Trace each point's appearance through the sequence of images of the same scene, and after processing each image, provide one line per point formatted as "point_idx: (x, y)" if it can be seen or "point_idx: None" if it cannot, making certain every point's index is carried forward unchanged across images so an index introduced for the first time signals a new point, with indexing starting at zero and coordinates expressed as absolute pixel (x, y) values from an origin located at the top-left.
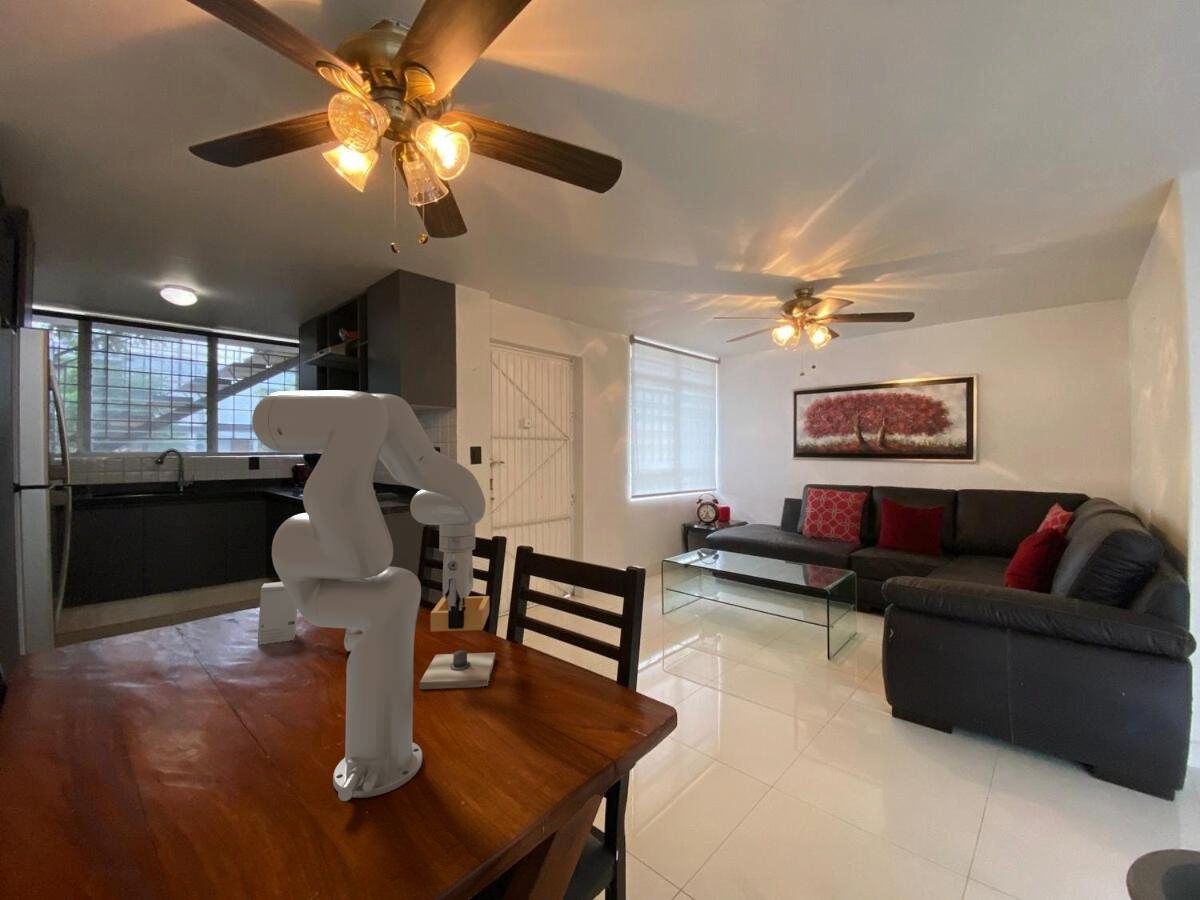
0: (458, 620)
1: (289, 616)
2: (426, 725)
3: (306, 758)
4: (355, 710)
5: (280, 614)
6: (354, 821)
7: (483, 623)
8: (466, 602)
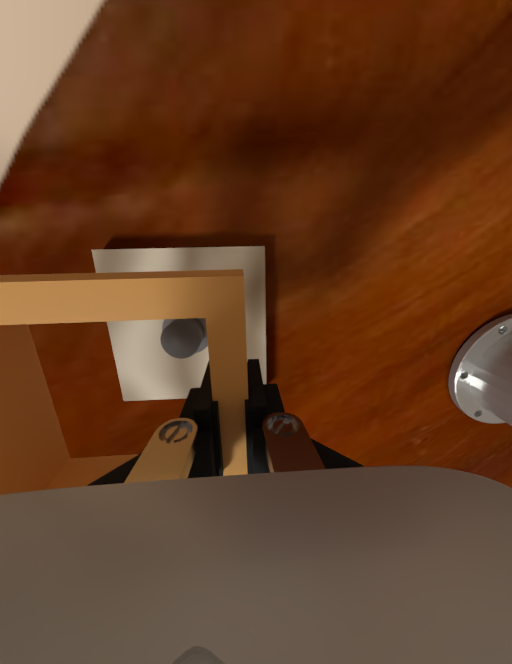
0: (278, 395)
1: None
2: (399, 337)
3: (442, 463)
4: None
5: None
6: None
7: (206, 271)
8: None
